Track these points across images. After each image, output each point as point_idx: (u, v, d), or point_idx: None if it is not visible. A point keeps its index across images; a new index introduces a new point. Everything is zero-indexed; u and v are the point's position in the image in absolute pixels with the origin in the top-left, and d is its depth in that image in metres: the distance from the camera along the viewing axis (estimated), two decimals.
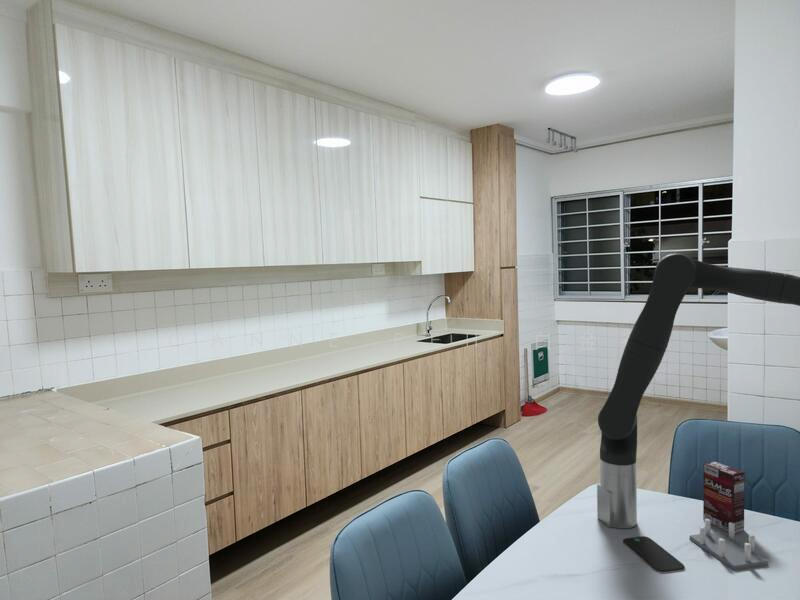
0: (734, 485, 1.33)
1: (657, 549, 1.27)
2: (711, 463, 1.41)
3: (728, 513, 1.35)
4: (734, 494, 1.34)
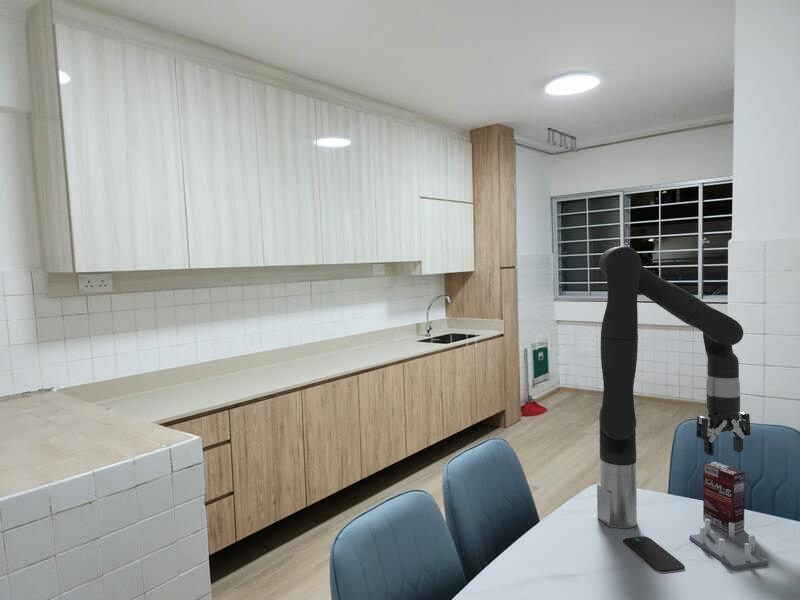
0: (734, 485, 1.33)
1: (657, 549, 1.27)
2: (711, 463, 1.41)
3: (728, 513, 1.35)
4: (734, 494, 1.34)
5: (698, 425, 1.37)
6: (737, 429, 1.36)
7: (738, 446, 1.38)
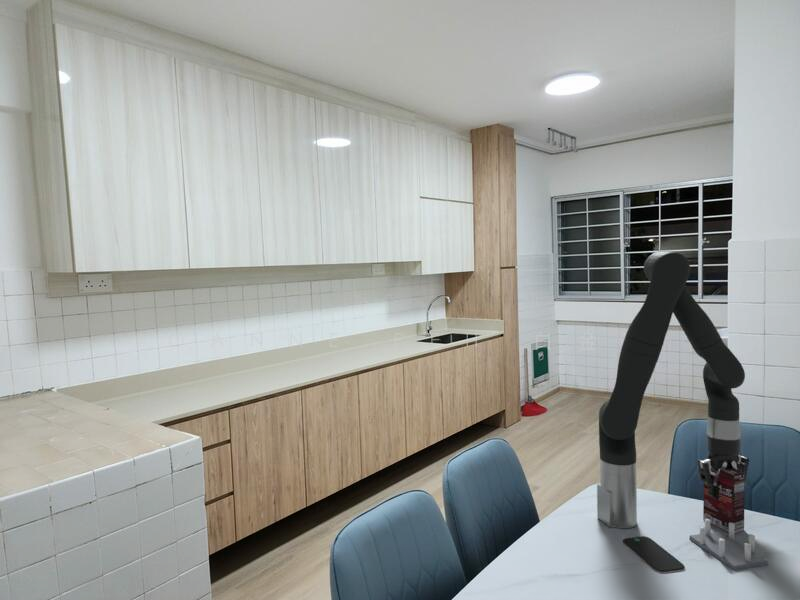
0: (734, 485, 1.33)
1: (657, 549, 1.27)
2: None
3: (728, 513, 1.35)
4: (734, 494, 1.34)
5: (700, 469, 1.37)
6: None
7: None
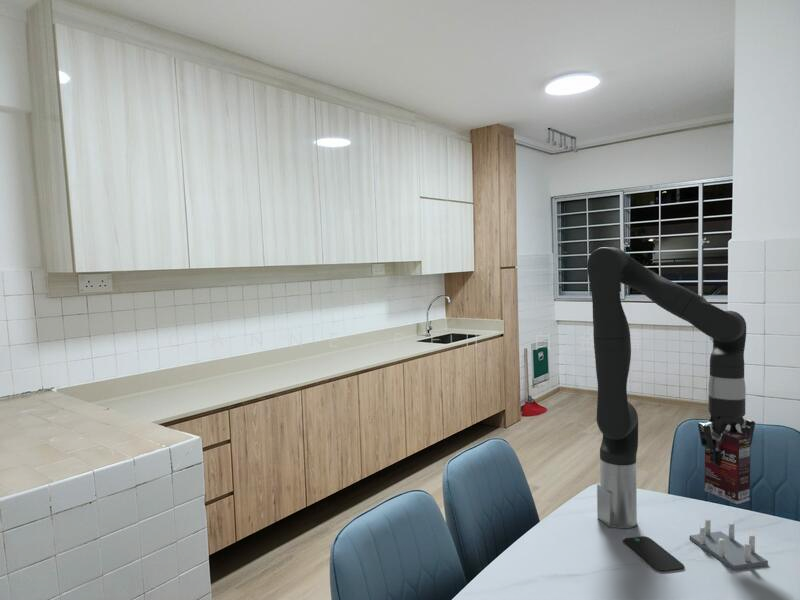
0: (738, 450, 1.20)
1: (657, 549, 1.27)
2: None
3: (732, 481, 1.22)
4: (739, 459, 1.20)
5: (701, 433, 1.24)
6: None
7: None
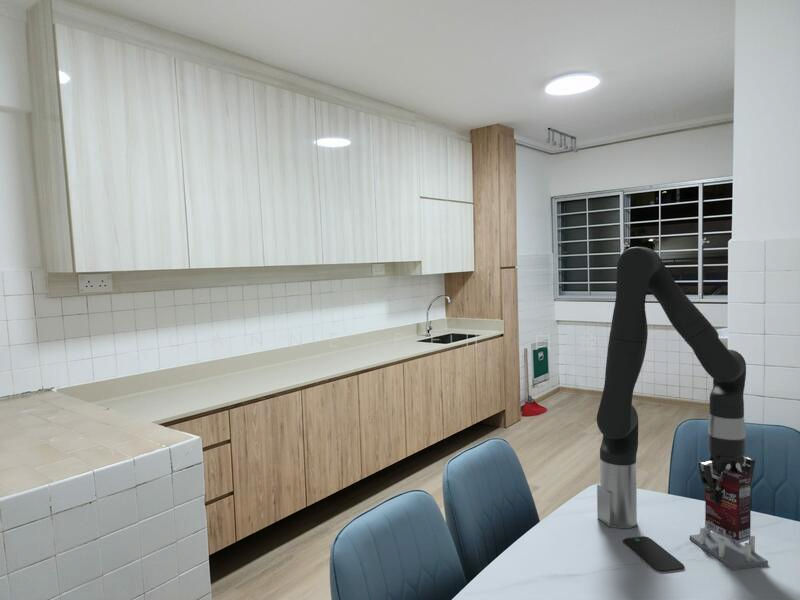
0: (739, 490, 1.21)
1: (657, 549, 1.27)
2: None
3: (733, 520, 1.22)
4: (739, 499, 1.21)
5: (701, 472, 1.25)
6: None
7: None
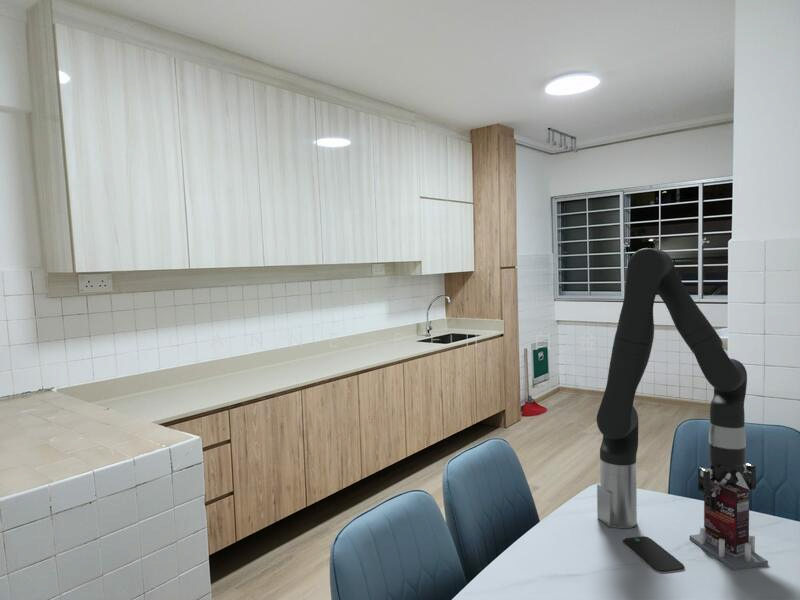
0: (737, 504, 1.21)
1: (657, 549, 1.27)
2: None
3: (731, 534, 1.22)
4: (737, 513, 1.21)
5: (699, 478, 1.25)
6: (742, 483, 1.24)
7: None
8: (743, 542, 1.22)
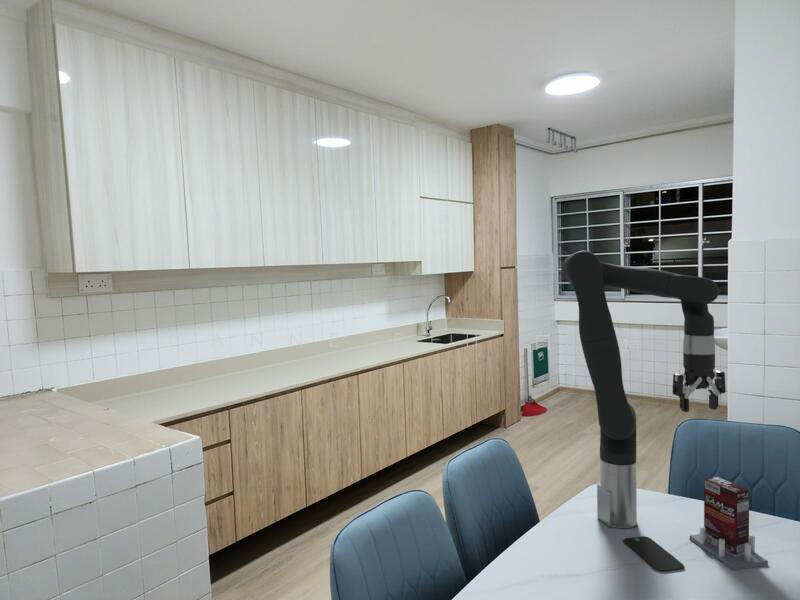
0: (737, 504, 1.21)
1: (657, 549, 1.27)
2: (712, 479, 1.28)
3: (731, 534, 1.22)
4: (737, 513, 1.21)
5: (674, 382, 1.41)
6: (712, 386, 1.40)
7: (713, 403, 1.41)
8: (743, 542, 1.22)
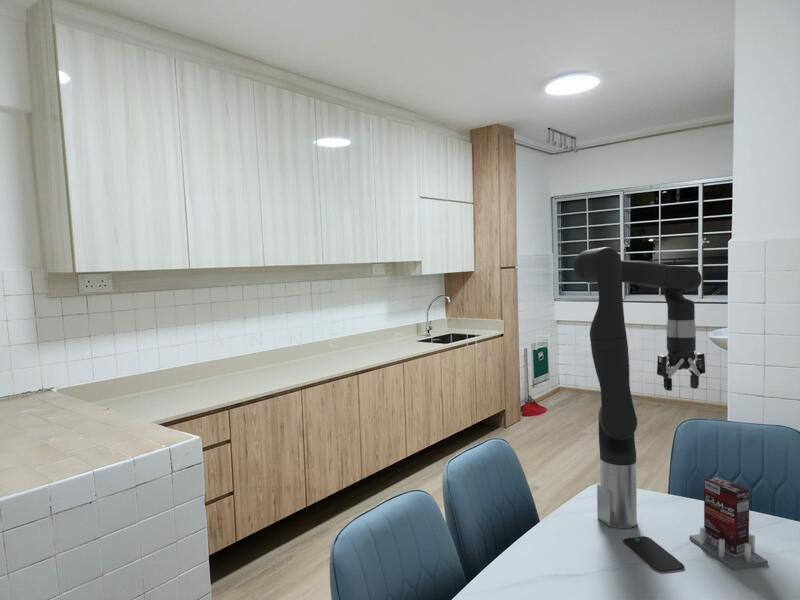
0: (737, 504, 1.21)
1: (657, 549, 1.27)
2: (712, 479, 1.28)
3: (731, 534, 1.22)
4: (737, 513, 1.21)
5: (658, 363, 1.53)
6: (693, 367, 1.52)
7: (694, 383, 1.54)
8: (743, 542, 1.22)
